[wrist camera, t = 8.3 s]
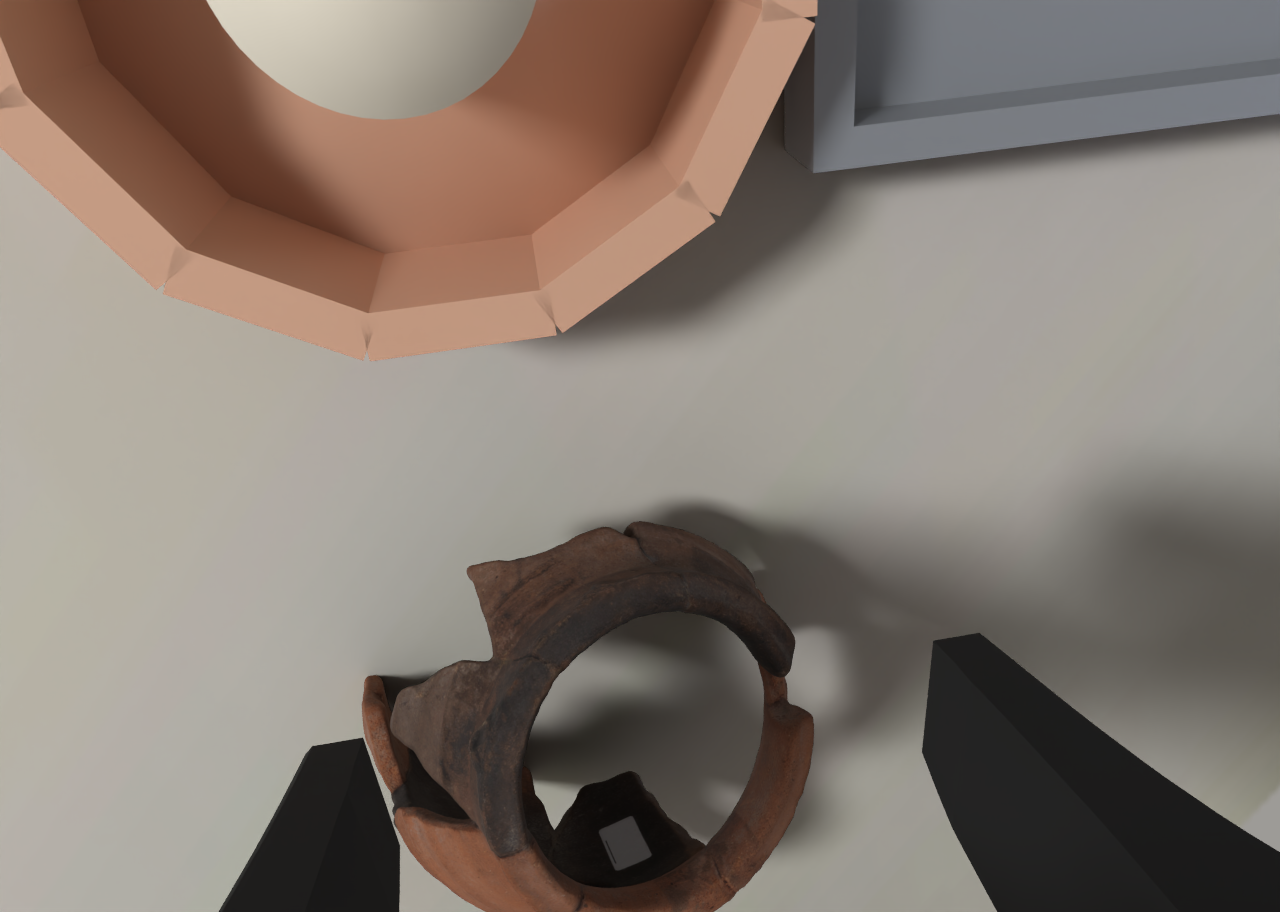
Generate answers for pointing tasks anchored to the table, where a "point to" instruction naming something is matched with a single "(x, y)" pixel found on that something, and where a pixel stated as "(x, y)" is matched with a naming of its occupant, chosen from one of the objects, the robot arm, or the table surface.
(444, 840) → the broken clay pot
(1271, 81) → the parts tray
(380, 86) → the cream rounded cylinder
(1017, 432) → the table surface
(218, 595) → the table surface
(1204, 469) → the table surface
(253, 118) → the terracotta bowl
